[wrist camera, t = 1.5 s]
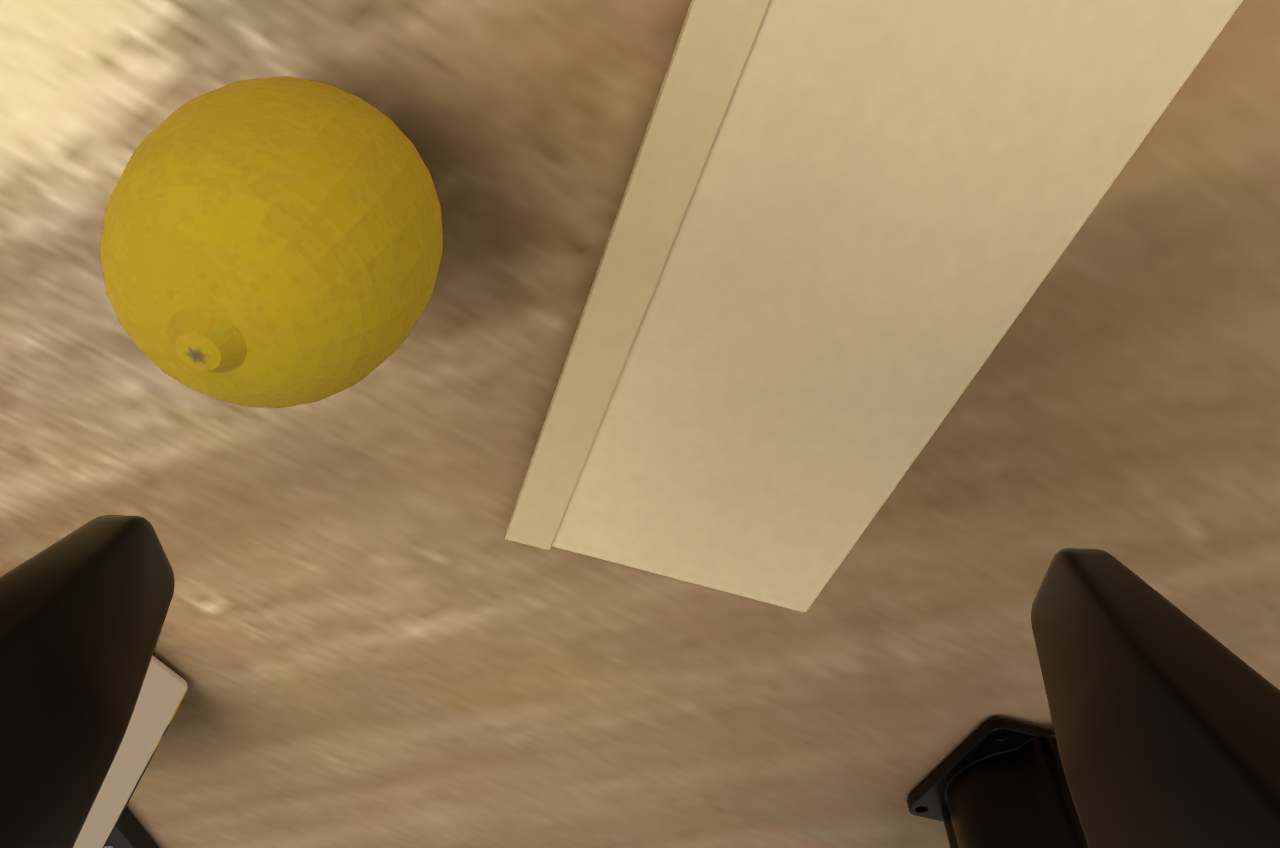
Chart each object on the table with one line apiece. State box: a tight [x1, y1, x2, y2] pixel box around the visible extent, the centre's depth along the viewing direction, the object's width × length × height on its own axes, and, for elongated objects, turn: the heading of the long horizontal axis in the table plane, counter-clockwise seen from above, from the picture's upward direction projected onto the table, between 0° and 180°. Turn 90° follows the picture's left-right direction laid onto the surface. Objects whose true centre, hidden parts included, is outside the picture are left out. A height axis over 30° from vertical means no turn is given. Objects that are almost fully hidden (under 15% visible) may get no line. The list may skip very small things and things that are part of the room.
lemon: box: [100, 77, 443, 408], centre depth 16 cm, size 6×6×8 cm
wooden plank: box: [505, 0, 1243, 613], centre depth 21 cm, size 22×10×1 cm, turn 161°
